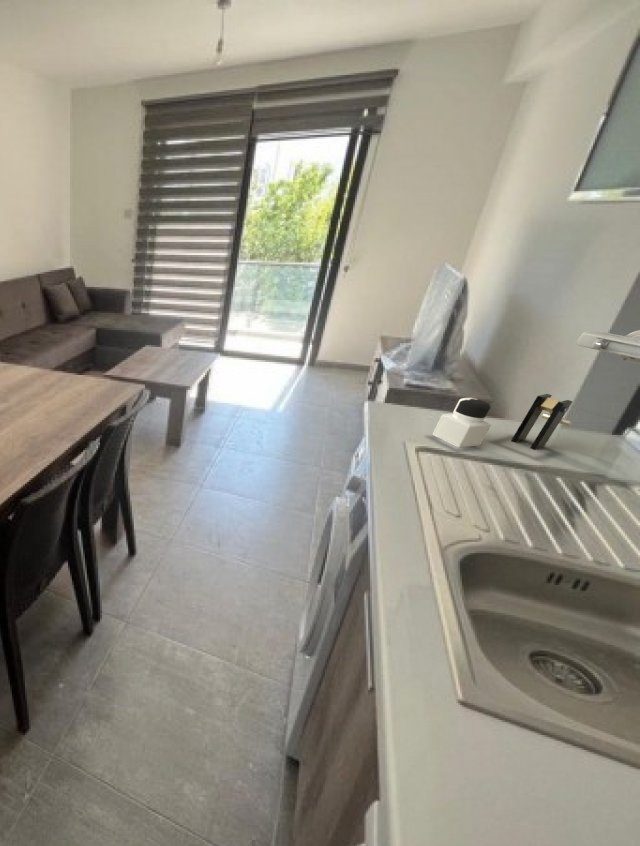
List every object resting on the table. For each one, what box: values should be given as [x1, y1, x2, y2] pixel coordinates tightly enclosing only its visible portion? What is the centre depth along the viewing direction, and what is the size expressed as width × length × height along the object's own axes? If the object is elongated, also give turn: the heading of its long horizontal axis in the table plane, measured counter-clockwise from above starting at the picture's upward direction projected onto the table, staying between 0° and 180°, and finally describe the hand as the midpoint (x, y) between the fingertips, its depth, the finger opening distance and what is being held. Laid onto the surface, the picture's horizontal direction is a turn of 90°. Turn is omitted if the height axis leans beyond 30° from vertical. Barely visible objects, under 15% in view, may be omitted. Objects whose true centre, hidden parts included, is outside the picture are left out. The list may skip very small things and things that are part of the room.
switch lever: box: [541, 397, 573, 427], centre depth 118 cm, size 12×6×2 cm
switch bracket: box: [510, 393, 573, 451], centre depth 118 cm, size 10×9×14 cm
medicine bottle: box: [432, 397, 492, 448], centre depth 119 cm, size 7×7×12 cm
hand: (621, 350), depth 118 cm, fingers open, 8 cm apart
